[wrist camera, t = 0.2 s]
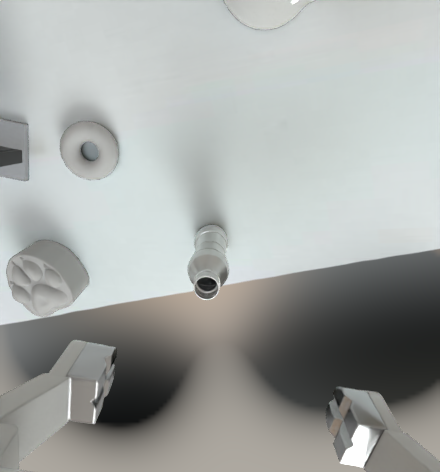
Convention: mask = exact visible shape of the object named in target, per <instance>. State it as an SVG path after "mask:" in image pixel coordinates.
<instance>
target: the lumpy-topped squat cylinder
mask: <svg viewBox="0 0 440 472" xmlns="http://www.w3.org/2000/svg"><path fill="white" fill-rule="evenodd" d="M6 274H7V280H8V284H9V287H10V289H11V290H12V296H13V298H14V299H15V300H16V301H17V302H19V303H22V304H23V305H24V306H25V307H26V308H27V309H28V310H29V311H30V312H31V313H32V314H34V315H36V316H40V317H47V316H50V315H51V314H53V313H54V312H56V311H57V310H60V309H63V308H66V307H69V306H70V305H71V304H72V303H73V302H74V301H75V300H76V299H77V297H78V296H79V295H80V294H81V293H82V291H83V290H84V289H85V288H86V287H87V286H88V283H89V276H88V274H87V272H86V270H85V268H84V267H83V265H82V263H81V262H80V261H79V259H78V258H77V257H76V256H75V254H74V253H73V252H72V251H71V250H70V249H68V248H66V247H65V246H63V245H61V244H59V243H57V242H54V241H50V240H39V241H37V242H35V243H33V244H32V245H30V246H29V247H27V248H25V249H24V250H22V251H21V252H19V253H17V254H16V255H14V256H13V257H12V258H11V259H10V260H9V262H8V265H7V270H6Z"/></svg>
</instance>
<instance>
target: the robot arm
mask: <svg viewBox="0 0 440 472" xmlns="http://www.w3.org/2000/svg"><path fill="white" fill-rule="evenodd" d="M313 1H315V0H224V2H225V4H226V6H227V8H228V9H229V11H230V12H231V13H232V14H233V16H234V17H235V18H236V19H237V20H239V21H240V22H241V23H243V24H245V25H246V26H248V27H251V28H254V29H259V30H269V29H275V28H278V27H280V26H283V25H285V24H286V23H288V22H289V21H291V20H292V19H293V18H294V17H295V16H297V14H298V13H299V12H300V11H301V10H302V9H303V8H304V7H305V6H306V5H307V4H309V3H311V2H313ZM116 355H117V348H115V347H110V346H105V345H100V344H95V343H90V342H84V341H79V340H73V341H72V342H71V343H70V344H69V345H68V347H67V348H66V350H65V351H64V352H63V354H62V355H61V357H60V358H59V360H58V361H57V362H56V364H55V365H54V366H53V368H52V369H51V371H50V372H49V373H48V374H47V373H43V374H41V375H39V376H38V377H35V378H33V379H32V380H30V381H28V382H26V383H24V384H22V385H20V386H18V387H16V388H14V389H13V390H10V391H8V392H7V393H5V394H3V395H1V396H0V472H32V471H26V470H19V462H20V461H21V460H23V459H24V458H25V457H26V456H27V455H29V454H30V453H31V452H32V451H34V450H35V449H36V448H37V447H38V446H39V445H41V444H42V443H43V442H44V441H46V440H47V439H48V438H49V437H50V436H52V435H53V434H54V433H55V432H57V431H58V430H59V429H60V428H61V427H63V426H64V425H65V424H66V423H67V422H68V421H74V422H82V423H90V424H95V422H96V420H97V417H98V415H99V413H100V410H101V408H102V405H103V398H104V397H105V396H107V395H108V392H109V390H110V387H111V384H112V381H113V377H114V372H115V366H114V364H113V363H114V361H115V358H116ZM333 395H334V398H335V399H334V400H333V401H331V402H329V404H328V407H327V409H326V423H327V427H328V430H329V432H330V433H331V434H332V435H333V436H334V437H335V440H334V443H333V445H334V447H335V450H336V453H337V456H338V459H339V462H340V463H342V464H347V465H353V466H358V467H363V468H364V470H365V471H366V472H440V461H439V460H438V459H437V458H436V457H434V456H433V455H432V454H431V453H430V452H429V451H427V450H426V449H425V448H424V447H423V446H422V445H420V444H419V443H418V442H417V441H416V440H414V439H413V438H412V437H411V436H410V435H409V434H407V433H403V431H402V430H401V428H400V426H399V425H398V423H397V421H396V420H395V418H394V416H393V414H392V413H391V411H390V409H389V408H388V406H387V404H386V403H385V401H384V399H383V397H382V396H381V395H380V394H379V393H378V392H373V391H367V390H359V389H353V388H347V387H341V386H338V387H336V388H335V390H334V392H333Z"/></svg>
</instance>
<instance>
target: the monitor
mask: <svg viewBox="0 0 440 472" xmlns="http://www.w3.org/2000/svg"><path fill="white" fill-rule="evenodd" d="M0 177H5V178H11V179H16V180H21V181H28V180H29V164H28V124H24V123H19V122H14V121H10V120H5V119H0Z"/></svg>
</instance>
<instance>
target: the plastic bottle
mask: <svg viewBox="0 0 440 472" xmlns="http://www.w3.org/2000/svg"><path fill="white" fill-rule="evenodd" d="M194 245H195V252H194V254H193V256H192V257H191V259H190V261H189V264H188V275H189V278H190V280H191V282H192V283H193V285H194V287H193V288H194V292H195V294H196V295H197V296H198V297H199V298H201V299H204V300H210V299H213V298H214V297H216V296H217V294H218V293H219V289H220V287H221V286H222V285H223V284H224V283H225V281H226V280H227V278H228V275H229V266H228V262H227V259H226V257H225V253H226V251H227V247H228V238H227V235H226V233H225V232H224V230H223V229H222V228H220V227H218V226H216V225H207V226H204V227H202V228H201V229H200V230H199V231H198V232H197V234H196V236H195V239H194Z"/></svg>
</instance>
